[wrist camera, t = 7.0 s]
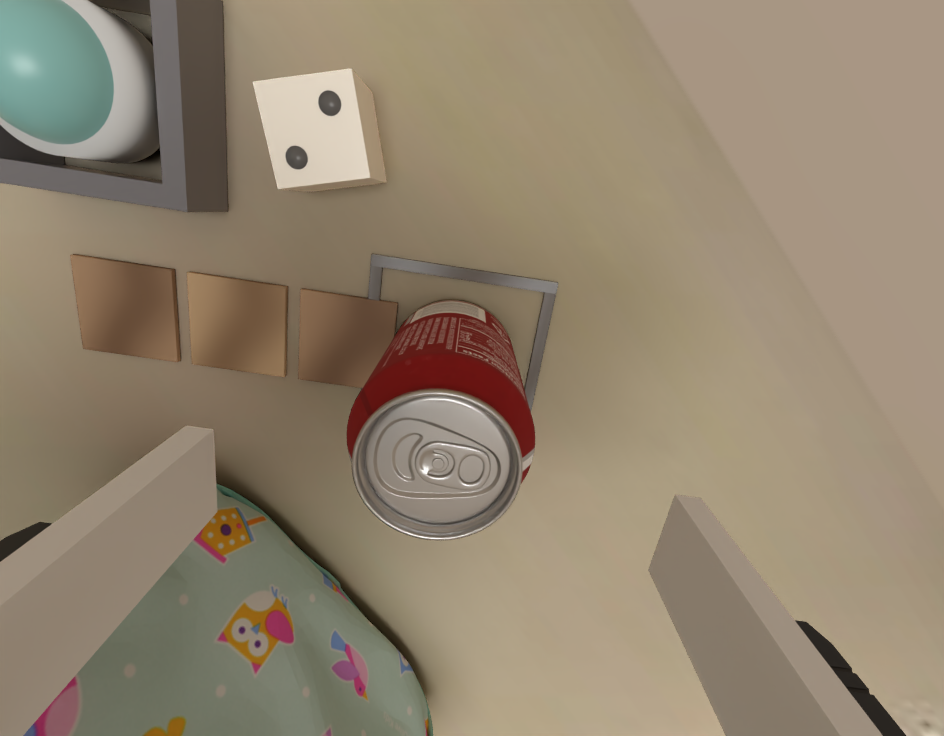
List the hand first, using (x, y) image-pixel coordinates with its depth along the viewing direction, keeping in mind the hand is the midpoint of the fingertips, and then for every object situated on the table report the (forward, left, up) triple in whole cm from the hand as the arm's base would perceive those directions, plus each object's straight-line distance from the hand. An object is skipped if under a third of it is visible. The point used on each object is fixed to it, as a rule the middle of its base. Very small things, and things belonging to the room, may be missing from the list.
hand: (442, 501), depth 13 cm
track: (-8, 0, -14) cm, 16 cm away
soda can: (0, 0, -14) cm, 14 cm away
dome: (-17, +11, -12) cm, 24 cm away
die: (-7, +10, -14) cm, 18 cm away
